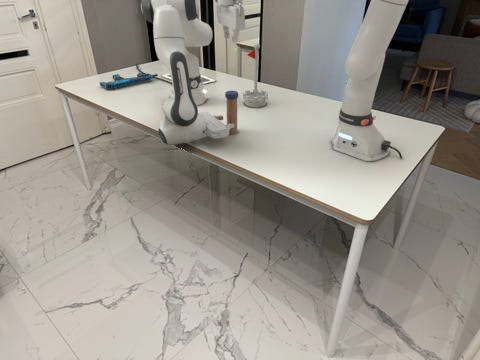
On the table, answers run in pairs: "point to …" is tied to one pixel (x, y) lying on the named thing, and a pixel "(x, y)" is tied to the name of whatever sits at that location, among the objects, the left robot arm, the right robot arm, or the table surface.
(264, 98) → the flag stand
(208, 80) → the tablet
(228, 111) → the jar
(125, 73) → the table surface
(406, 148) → the table surface
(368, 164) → the table surface
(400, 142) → the table surface
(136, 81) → the submachine gun
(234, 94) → the lid
